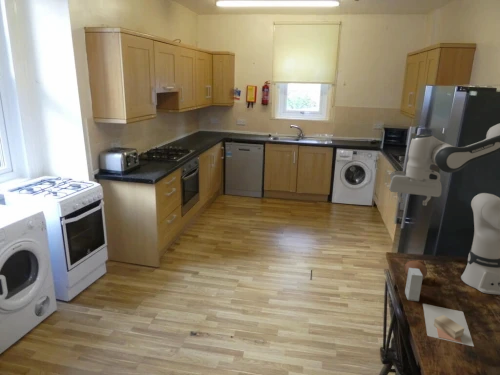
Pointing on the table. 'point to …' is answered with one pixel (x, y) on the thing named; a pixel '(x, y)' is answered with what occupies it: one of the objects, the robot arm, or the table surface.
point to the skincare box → (413, 284)
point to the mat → (454, 315)
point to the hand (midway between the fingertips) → (412, 203)
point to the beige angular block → (449, 326)
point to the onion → (418, 265)
